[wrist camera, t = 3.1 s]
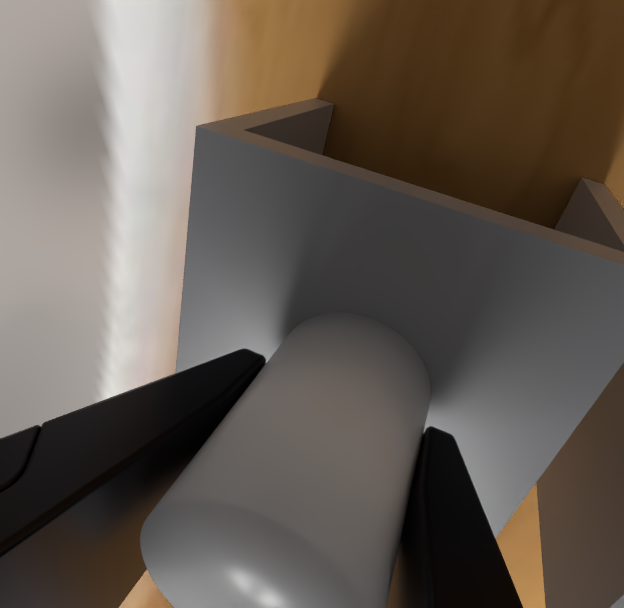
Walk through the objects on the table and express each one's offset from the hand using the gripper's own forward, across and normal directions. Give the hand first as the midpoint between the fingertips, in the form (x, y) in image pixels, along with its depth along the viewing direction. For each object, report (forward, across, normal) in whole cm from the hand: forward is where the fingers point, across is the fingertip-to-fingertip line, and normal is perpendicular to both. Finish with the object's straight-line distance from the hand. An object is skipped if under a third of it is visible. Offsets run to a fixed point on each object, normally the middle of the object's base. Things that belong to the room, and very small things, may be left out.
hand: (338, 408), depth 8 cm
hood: (+6, 0, 0) cm, 6 cm away
